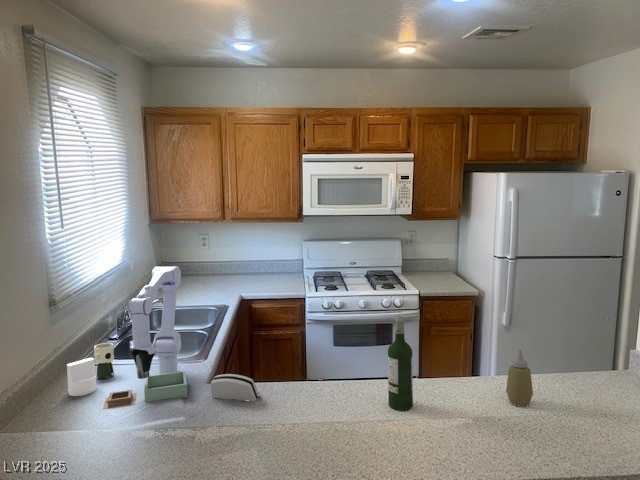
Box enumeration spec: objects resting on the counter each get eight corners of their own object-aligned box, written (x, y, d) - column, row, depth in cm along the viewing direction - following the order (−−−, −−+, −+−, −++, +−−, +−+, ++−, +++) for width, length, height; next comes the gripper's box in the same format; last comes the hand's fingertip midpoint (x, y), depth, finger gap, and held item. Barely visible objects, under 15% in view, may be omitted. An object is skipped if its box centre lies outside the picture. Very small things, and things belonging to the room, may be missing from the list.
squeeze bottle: (512, 396, 154) (512, 344, 153) (536, 403, 148) (537, 349, 147) (501, 403, 148) (502, 350, 147) (527, 411, 142) (527, 355, 141)
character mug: (105, 382, 175) (103, 349, 174) (88, 381, 176) (86, 349, 175) (121, 372, 186) (119, 341, 185) (105, 371, 187) (104, 341, 186)
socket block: (106, 400, 158) (105, 392, 158) (136, 395, 161) (136, 387, 161) (102, 412, 149) (102, 403, 148) (135, 407, 152) (134, 398, 152)
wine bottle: (384, 403, 150) (382, 315, 148) (403, 399, 153) (403, 312, 151) (397, 413, 143) (395, 320, 141) (417, 408, 146) (416, 317, 144)
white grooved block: (88, 386, 171) (86, 356, 170) (101, 392, 166) (99, 360, 165) (63, 395, 164) (61, 363, 163) (76, 400, 158) (74, 367, 157)
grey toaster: (260, 395, 159) (256, 373, 155) (256, 405, 155) (251, 382, 151) (218, 391, 163) (212, 369, 159) (212, 401, 159) (206, 379, 155)
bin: (146, 389, 167) (145, 376, 167) (185, 383, 172) (184, 370, 171) (144, 404, 154) (144, 390, 154) (187, 397, 158) (186, 384, 158)
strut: (146, 373, 161) (144, 351, 161) (151, 376, 159) (150, 354, 158) (135, 376, 158) (133, 354, 158) (140, 379, 156) (139, 357, 155)
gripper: (120, 331, 159) (122, 368, 160) (140, 338, 150) (142, 378, 151) (139, 326, 164) (141, 363, 165) (160, 333, 155) (162, 371, 156)
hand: (143, 369), depth 158 cm, fingers closed on strut, 4 cm apart
